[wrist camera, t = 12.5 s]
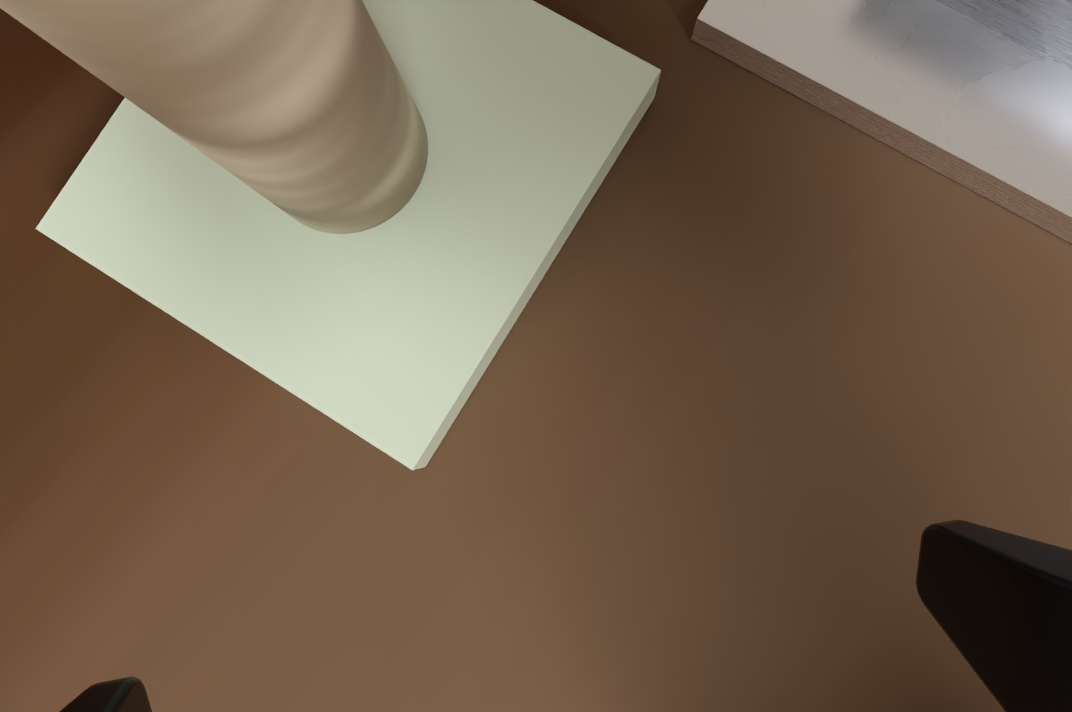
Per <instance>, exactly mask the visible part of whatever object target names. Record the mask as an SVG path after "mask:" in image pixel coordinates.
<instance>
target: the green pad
mask: <svg viewBox="0 0 1072 712" xmlns="http://www.w3.org/2000/svg"><path fill="white" fill-rule="evenodd" d="M362 1H363V3H364V5H365V7H366V9H367V11H368V13H369V15H370V17H371V19H372V21H373V23H374V25H375V27H376V28H377V30H378V32H379V34H380V36H381V38H382V40H383V42H384V44H385V46H386V48H387V50H388V52H389V54H390V56H391V58H392V60H393V62H394V64H395V66H396V68H397V69H398V71H399V73H400V75H401V77H402V79H403V81H404V83H405V85H406V87H407V89H408V91H409V93H410V95H411V97H412V99H413V101H414V103H415V105H416V107H417V109H418V111H419V113H420V115H421V117H422V119H423V122H424V125H425V128H426V133H427V139H428V157H427V164H426V168H425V172H424V175H423V178H422V180H421V183H420V185H419V187H418V188H417V190H416V192H415V194H414V195H413V196H412V198H411V199H410V201H409V202H408V203H407V204H406V205H405V206H404V207H403V208H402V209H401V210H400V211H399V212H398V213H397V214H396V215H394V216H393V217H392V218H390V219H389V220H387V221H385V222H384V223H382V224H380V225H378V226H376V227H374V228H371V229H368V230H365V231H361V232H356V233H350V234H334V233H326V232H321V231H318V230H315V229H312V228H309V227H307V226H305V225H303V224H301V223H299V222H298V221H297V220H295V219H294V218H292V217H291V216H289V215H288V214H287V213H285V212H284V211H283V210H281V209H280V208H278V207H277V206H276V205H274V204H273V203H271V202H270V201H269V200H267V199H266V198H264V197H263V196H262V195H260V194H259V193H257V192H256V191H255V190H253V189H252V188H250V187H249V186H248V185H246V184H245V183H244V182H242V181H241V180H239V179H238V178H237V177H235V176H234V175H232V174H231V173H230V172H228V171H227V170H225V169H224V168H223V167H221V166H220V165H218V164H217V163H216V162H214V161H213V160H211V159H210V158H209V157H207V156H206V155H205V154H203V153H202V152H200V151H199V150H198V149H196V148H195V147H193V146H192V145H191V144H189V143H188V142H186V141H185V140H184V139H182V138H181V137H179V136H178V135H177V134H175V133H174V132H172V131H171V130H170V129H168V128H167V127H166V126H164V125H163V124H161V123H160V122H159V121H157V120H156V119H154V118H153V117H152V116H150V115H149V114H147V113H146V112H145V111H143V110H142V109H140V108H139V107H138V106H136V105H135V104H133V103H132V102H131V101H129V100H128V99H127V98H124V100H123V101H122V102H121V104H120V105H119V107H118V108H117V110H116V111H115V113H114V114H113V116H112V117H111V119H110V120H109V122H108V123H107V125H106V126H105V127H104V129H103V130H102V132H101V133H100V135H99V136H98V138H97V139H96V141H95V142H94V144H93V145H92V147H91V148H90V150H89V151H88V152H87V154H86V155H85V157H84V158H83V160H82V161H81V163H80V164H79V166H78V167H77V169H76V170H75V172H74V173H73V174H72V176H71V177H70V179H69V180H68V182H67V183H66V185H65V186H64V188H63V189H62V191H61V192H60V194H59V195H58V197H57V198H56V199H55V201H54V202H53V204H52V205H51V207H50V208H49V210H48V211H47V213H46V214H45V216H44V217H43V219H42V220H41V222H40V223H39V224H38V226H37V227H36V229H37V230H38V231H40V232H41V233H43V234H45V235H46V236H48V237H49V238H51V239H52V240H54V241H55V242H57V243H59V244H60V245H62V246H63V247H65V248H66V249H68V250H70V251H71V252H73V253H74V254H76V255H77V256H79V257H80V258H82V259H84V260H85V261H87V262H88V263H90V264H91V265H93V266H94V267H96V268H98V269H99V270H101V271H102V272H104V273H105V274H107V275H109V276H110V277H112V278H113V279H115V280H116V281H118V282H119V283H121V284H123V285H124V286H126V287H127V288H129V289H130V290H132V291H133V292H135V293H137V294H138V295H140V296H141V297H143V298H144V299H146V300H148V301H149V302H151V303H152V304H154V305H155V306H157V307H158V308H160V309H162V310H163V311H165V312H166V313H168V314H169V315H171V316H172V317H174V318H176V319H177V320H179V321H180V322H182V323H183V324H185V325H187V326H188V327H190V328H191V329H193V330H194V331H196V332H197V333H199V334H201V335H202V336H204V337H205V338H207V339H208V340H210V341H212V342H213V343H215V344H216V345H218V346H219V347H221V348H222V349H224V350H226V351H227V352H229V353H230V354H232V355H233V356H235V357H236V358H238V359H240V360H241V361H243V362H244V363H246V364H247V365H249V366H251V367H252V368H254V369H255V370H257V371H258V372H260V373H261V374H263V375H265V376H266V377H268V378H269V379H271V380H272V381H274V382H275V383H277V384H279V385H280V386H282V387H283V388H285V389H286V390H288V391H290V392H291V393H293V394H294V395H296V396H297V397H299V398H300V399H302V400H304V401H305V402H307V403H308V404H310V405H311V406H313V407H314V408H316V409H318V410H319V411H321V412H322V413H324V414H325V415H327V416H329V417H330V418H332V419H333V420H335V421H336V422H338V423H339V424H341V425H343V426H344V427H346V428H347V429H349V430H350V431H352V432H354V433H355V434H357V435H358V436H360V437H361V438H363V439H364V440H366V441H368V442H369V443H371V444H372V445H374V446H375V447H377V448H378V449H380V450H382V451H383V452H385V453H386V454H388V455H389V456H391V457H393V458H394V459H396V460H397V461H399V462H400V463H402V464H403V465H405V466H407V467H408V468H410V469H411V470H416V469H420V468H424V467H426V465H427V464H428V462H429V461H430V459H431V457H432V456H433V454H434V452H435V451H436V449H437V448H438V446H439V444H440V443H441V441H442V440H443V438H444V436H445V435H446V433H447V432H448V430H449V428H450V427H451V425H452V423H453V422H454V420H455V419H456V417H457V415H458V414H459V412H460V411H461V409H462V407H463V406H464V404H465V403H466V401H467V399H468V398H469V396H470V394H471V393H472V391H473V390H474V388H475V386H476V385H477V383H478V382H479V380H480V378H481V377H482V375H483V374H484V372H485V370H486V369H487V367H488V365H489V364H490V362H491V361H492V359H493V357H494V356H495V354H496V353H497V351H498V349H499V348H500V346H501V344H502V343H503V341H504V340H505V338H506V336H507V335H508V333H509V332H510V330H511V328H512V327H513V325H514V324H515V322H516V320H517V319H518V317H519V315H520V314H521V312H522V311H523V309H524V307H525V306H526V304H527V303H528V301H529V299H530V298H531V296H532V295H533V293H534V291H535V290H536V288H537V286H538V285H539V283H540V282H541V280H542V278H543V277H544V275H545V274H546V272H547V270H548V269H549V267H550V265H551V264H552V262H553V261H554V259H555V257H556V256H557V254H558V253H559V251H560V249H561V248H562V246H563V245H564V243H565V241H566V240H567V238H568V236H569V235H570V233H571V232H572V230H573V228H574V227H575V225H576V224H577V222H578V220H579V219H580V217H581V216H582V214H583V212H584V211H585V209H586V207H587V206H588V204H589V203H590V201H591V199H592V198H593V196H594V195H595V193H596V191H597V190H598V188H599V187H600V185H601V183H602V182H603V180H604V178H605V177H606V175H607V174H608V172H609V170H610V169H611V167H612V166H613V164H614V162H615V161H616V159H617V157H618V156H619V154H620V153H621V151H622V149H623V148H624V146H625V145H626V143H627V141H628V140H629V138H630V137H631V135H632V133H633V132H634V130H635V128H636V127H637V125H638V124H639V122H640V120H641V119H642V117H643V116H644V114H645V112H646V111H647V109H648V108H649V106H650V104H651V103H652V101H653V99H654V97H655V93H656V89H657V85H658V81H659V77H660V73H661V70H660V69H658V68H656V67H654V66H653V65H651V64H649V63H647V62H645V61H643V60H642V59H640V58H638V57H636V56H634V55H632V54H631V53H629V52H627V51H625V50H623V49H621V48H620V47H618V46H616V45H614V44H612V43H610V42H609V41H607V40H605V39H603V38H601V37H599V36H597V35H596V34H594V33H592V32H590V31H588V30H586V29H585V28H583V27H581V26H579V25H577V24H575V23H574V22H572V21H570V20H568V19H566V18H564V17H563V16H561V15H559V14H557V13H555V12H553V11H552V10H550V9H548V8H546V7H544V6H542V5H541V4H539V3H537V2H535V1H533V0H362Z"/></svg>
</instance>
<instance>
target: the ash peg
mask: <svg viewBox="0 0 1072 712" xmlns="http://www.w3.org/2000/svg"><path fill="white" fill-rule="evenodd" d="M0 8H1V9H3V10H4V11H5V12H7V13H8V14H10V15H11V16H12V17H14V18H15V19H16V20H18V21H19V22H21V23H22V24H23V25H25V26H26V27H28V28H29V29H30V30H32V31H33V32H35V33H36V34H37V35H39V36H40V37H42V38H43V39H44V40H46V41H47V42H49V43H50V44H51V45H53V46H54V47H55V48H57V49H58V50H60V51H61V52H62V53H64V54H65V55H67V56H68V57H69V58H71V59H72V60H74V61H75V62H76V63H78V64H79V65H81V66H82V67H83V68H85V69H86V70H88V71H89V72H90V73H92V74H93V75H94V76H96V77H97V78H99V79H100V80H101V81H103V82H104V83H106V84H107V85H108V86H110V87H111V88H113V89H114V90H115V91H117V92H118V93H120V94H121V95H122V96H124V97H125V98H127V99H128V100H129V101H131V102H132V103H133V104H135V105H136V106H138V107H139V108H140V109H142V110H143V111H145V112H146V113H147V114H149V115H150V116H152V117H153V118H154V119H156V120H157V121H159V122H160V123H161V124H163V125H164V126H166V127H167V128H168V129H170V130H171V131H172V132H174V133H175V134H177V135H178V136H179V137H181V138H182V139H184V140H185V141H186V142H188V143H189V144H191V145H192V146H193V147H195V148H196V149H198V150H199V151H200V152H202V153H203V154H205V155H206V156H207V157H209V158H210V159H211V160H213V161H214V162H216V163H217V164H218V165H220V166H221V167H223V168H224V169H225V170H227V171H228V172H230V173H231V174H232V175H234V176H235V177H237V178H238V179H239V180H241V181H242V182H244V183H245V184H246V185H248V186H249V187H250V188H252V189H253V190H255V191H256V192H257V193H259V194H260V195H262V196H263V197H264V198H266V199H267V200H269V201H270V202H271V203H273V204H274V205H276V206H277V207H278V208H280V209H281V210H283V211H284V212H285V213H287V214H288V215H289V216H291V217H292V218H294V219H295V220H297V221H298V222H299V223H301V224H303V225H305V226H307V227H309V228H312V229H315V230H318V231H321V232H326V233H334V234H350V233H356V232H361V231H365V230H368V229H371V228H374V227H376V226H378V225H380V224H382V223H384V222H385V221H387V220H389V219H390V218H392V217H393V216H394V215H396V214H397V213H398V212H399V211H400V210H401V209H402V208H403V207H404V206H405V205H406V204H407V203H408V202H409V201H410V199H411V198H412V196H413V195H414V194H415V192H416V190H417V188H418V187H419V185H420V183H421V180H422V178H423V175H424V172H425V168H426V164H427V157H428V139H427V133H426V128H425V125H424V122H423V119H422V117H421V115H420V113H419V111H418V109H417V107H416V105H415V103H414V101H413V99H412V97H411V95H410V93H409V91H408V89H407V87H406V85H405V83H404V81H403V79H402V77H401V75H400V73H399V71H398V69H397V68H396V66H395V64H394V62H393V60H392V58H391V56H390V54H389V52H388V50H387V48H386V46H385V44H384V42H383V40H382V38H381V36H380V34H379V32H378V30H377V28H376V27H375V25H374V23H373V21H372V19H371V17H370V15H369V13H368V11H367V9H366V7H365V5H364V3H363V1H362V0H0Z"/></svg>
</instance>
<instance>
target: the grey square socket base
mask: <svg viewBox="0 0 1072 712" xmlns="http://www.w3.org/2000/svg"><path fill="white" fill-rule="evenodd" d="M691 40H693V41H695V42H696V43H698V44H700V45H702V46H704V47H706V48H708V49H709V50H711V51H713V52H715V53H717V54H719V55H721V56H723V57H724V58H726V59H728V60H730V61H732V62H734V63H736V64H737V65H739V66H741V67H743V68H745V69H747V70H749V71H751V72H752V73H754V74H756V75H758V76H760V77H762V78H764V79H765V80H767V81H769V82H771V83H773V84H775V85H777V86H778V87H780V88H782V89H784V90H786V91H788V92H790V93H792V94H793V95H795V96H797V97H799V98H801V99H803V100H805V101H806V102H808V103H810V104H812V105H814V106H816V107H818V108H820V109H821V110H823V111H825V112H827V113H829V114H831V115H833V116H834V117H836V118H838V119H840V120H842V121H844V122H846V123H848V124H849V125H851V126H853V127H855V128H857V129H859V130H861V131H862V132H864V133H866V134H868V135H870V136H872V137H874V138H875V139H877V140H879V141H881V142H883V143H885V144H887V145H889V146H890V147H892V148H894V149H896V150H898V151H900V152H902V153H903V154H905V155H907V156H909V157H911V158H913V159H915V160H917V161H918V162H920V163H922V164H924V165H926V166H928V167H930V168H931V169H933V170H935V171H937V172H939V173H941V174H943V175H945V176H946V177H948V178H950V179H952V180H954V181H956V182H958V183H959V184H961V185H963V186H965V187H967V188H969V189H971V190H973V191H974V192H976V193H978V194H980V195H982V196H984V197H986V198H987V199H989V200H991V201H993V202H995V203H997V204H999V205H1000V206H1002V207H1004V208H1006V209H1008V210H1010V211H1012V212H1014V213H1015V214H1017V215H1019V216H1021V217H1023V218H1025V219H1027V220H1028V221H1030V222H1032V223H1034V224H1036V225H1038V226H1040V227H1042V228H1043V229H1045V230H1047V231H1049V232H1051V233H1053V234H1055V235H1056V236H1058V237H1060V238H1062V239H1064V240H1066V241H1068V242H1070V243H1071V244H1072V0H708V1H707V3H706V5H705V6H704V8H703V9H702V11H701V13H700V14H699V16H698V18H697V20H696V23H695V27H694V30H693V33H692V37H691Z"/></svg>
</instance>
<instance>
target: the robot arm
mask: <svg viewBox="0 0 1072 712" xmlns="http://www.w3.org/2000/svg"><path fill="white" fill-rule="evenodd" d="M916 585H917V590H918V593H919V596H920V598H921V600H922V602H923V603H924V605H925V606H926V608H927V609H928V610H929V612H930V613H931V614H932V616H933V617H934V618H935V620H936V621H937V622H938V623H939V625H940V626H941V627H942V629H943V630H944V631H945V633H946V634H947V635H948V637H949V638H950V639H951V641H952V642H953V643H954V645H955V646H956V647H957V649H958V650H959V651H960V653H961V654H962V655H963V657H964V658H965V659H966V661H967V662H968V663H969V664H970V666H971V667H972V668H973V670H974V671H975V672H976V674H977V675H978V676H979V678H980V679H981V680H982V682H983V683H984V684H985V686H986V687H987V688H988V690H989V691H990V692H991V694H992V695H993V696H994V697H995V699H996V700H997V701H998V702H999V704H1000V705H1001V706H1002V708H1003V709H1004V710H1005V711H1006V712H1072V550H1069V549H1065V548H1061V547H1058V546H1054V545H1050V544H1047V543H1043V542H1039V541H1036V540H1032V539H1028V538H1025V537H1021V536H1017V535H1014V534H1010V533H1006V532H1003V531H999V530H996V529H992V528H988V527H985V526H981V525H977V524H974V523H970V522H966V521H962V520H952V521H947V522H941V523H936V524H931V525H929V526H928V527H926V528H925V530H924V532H923V533H922V537H921V544H920V552H919V561H918V569H917V577H916ZM60 712H152V710H151V707H150V703H149V700H148V696H147V693H146V689H145V687H144V685H143V683H142V682H141V680H140V679H138V678H135V677H127V678H122V679H117V680H111V681H106V682H101V683H97V684H94V685H92V686H90V687H89V688H88V689H86V690H85V691H84V692H82V693H81V694H80V695H79V696H78V697H76V698H75V699H74V700H73V701H72V702H70V703H69V704H68V705H67V706H66V707H64V708H63V709H62V710H61V711H60Z"/></svg>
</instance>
